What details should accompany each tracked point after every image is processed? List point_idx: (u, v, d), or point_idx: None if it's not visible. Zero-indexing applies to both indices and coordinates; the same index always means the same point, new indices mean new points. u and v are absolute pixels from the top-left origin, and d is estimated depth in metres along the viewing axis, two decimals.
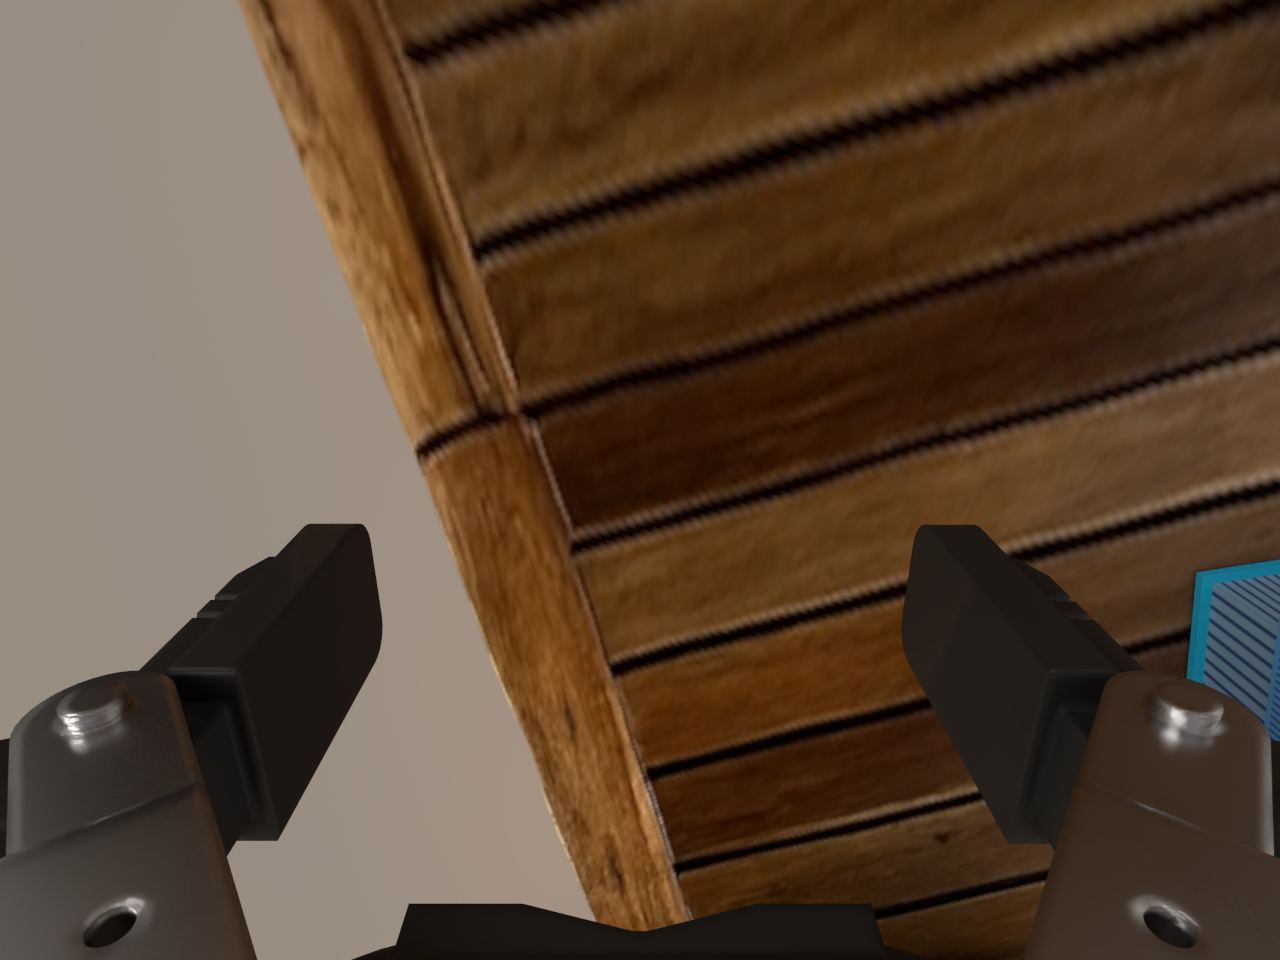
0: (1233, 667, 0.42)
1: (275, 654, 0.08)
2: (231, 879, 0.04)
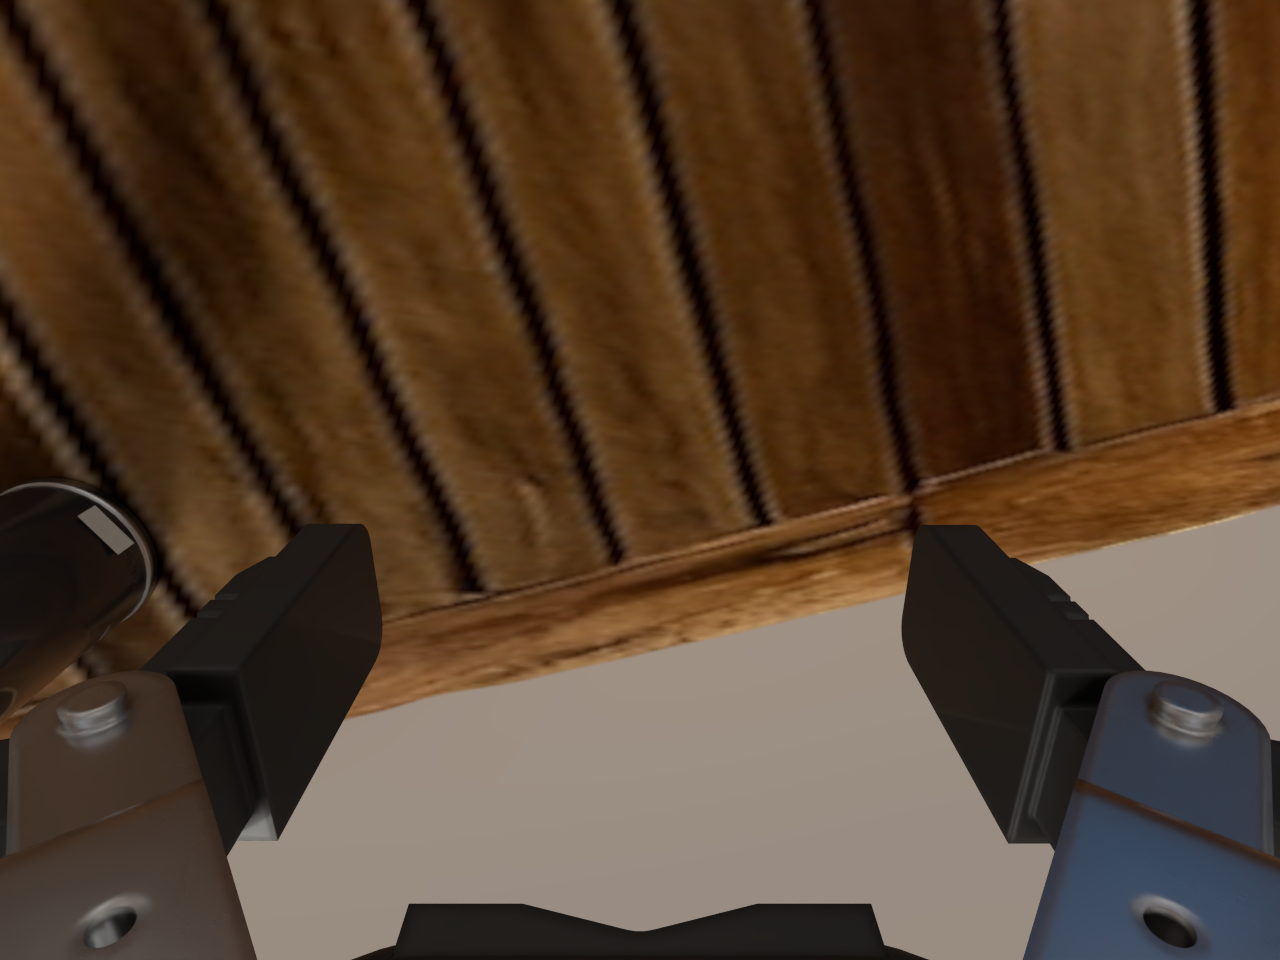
0: None
1: (275, 654, 0.08)
2: (232, 879, 0.04)
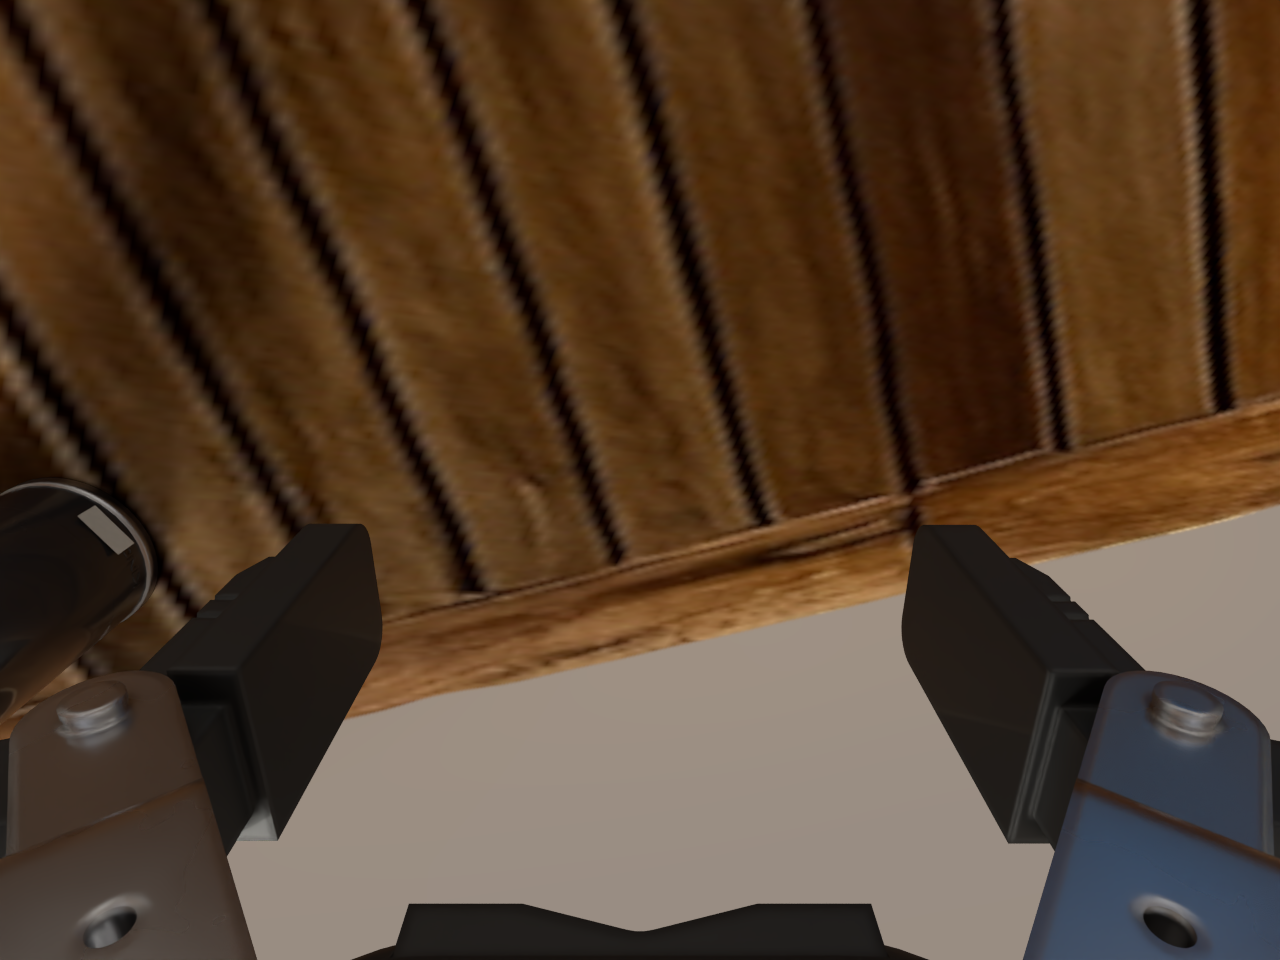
0: None
1: (275, 654, 0.08)
2: (232, 879, 0.04)
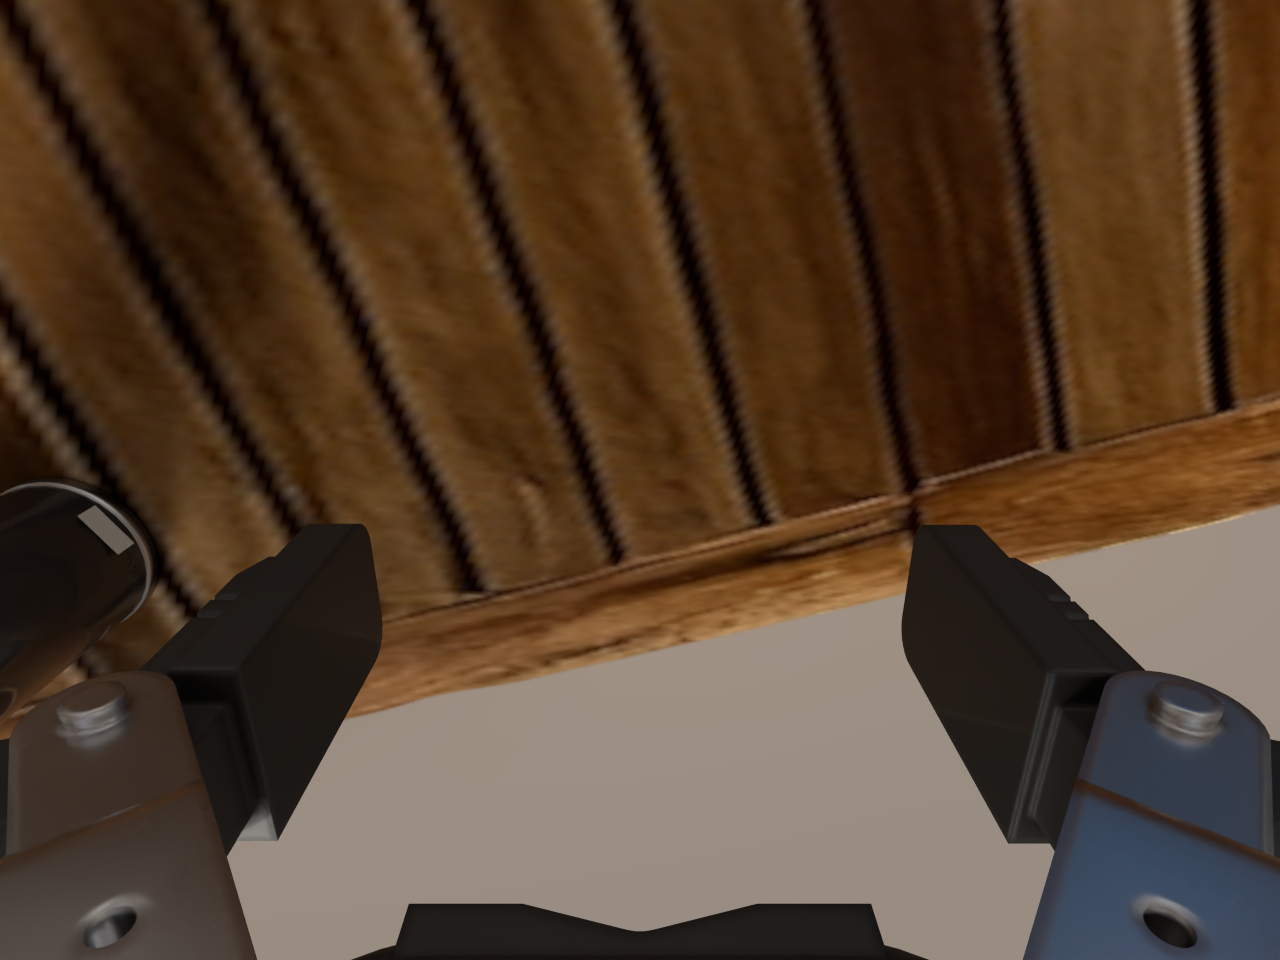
0: None
1: (275, 654, 0.08)
2: (232, 879, 0.04)
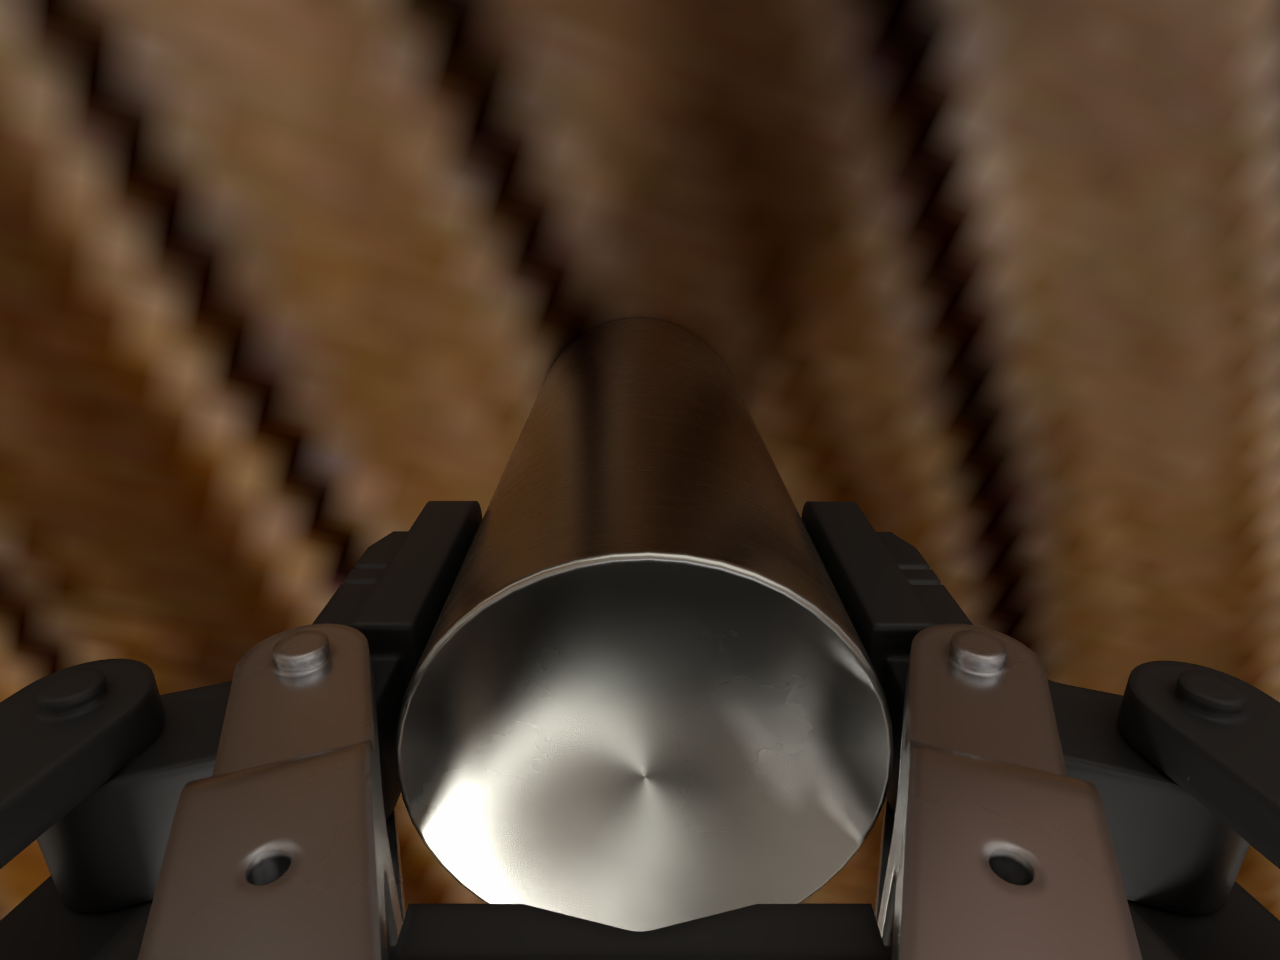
0: None
1: (431, 614, 0.09)
2: (373, 847, 0.05)
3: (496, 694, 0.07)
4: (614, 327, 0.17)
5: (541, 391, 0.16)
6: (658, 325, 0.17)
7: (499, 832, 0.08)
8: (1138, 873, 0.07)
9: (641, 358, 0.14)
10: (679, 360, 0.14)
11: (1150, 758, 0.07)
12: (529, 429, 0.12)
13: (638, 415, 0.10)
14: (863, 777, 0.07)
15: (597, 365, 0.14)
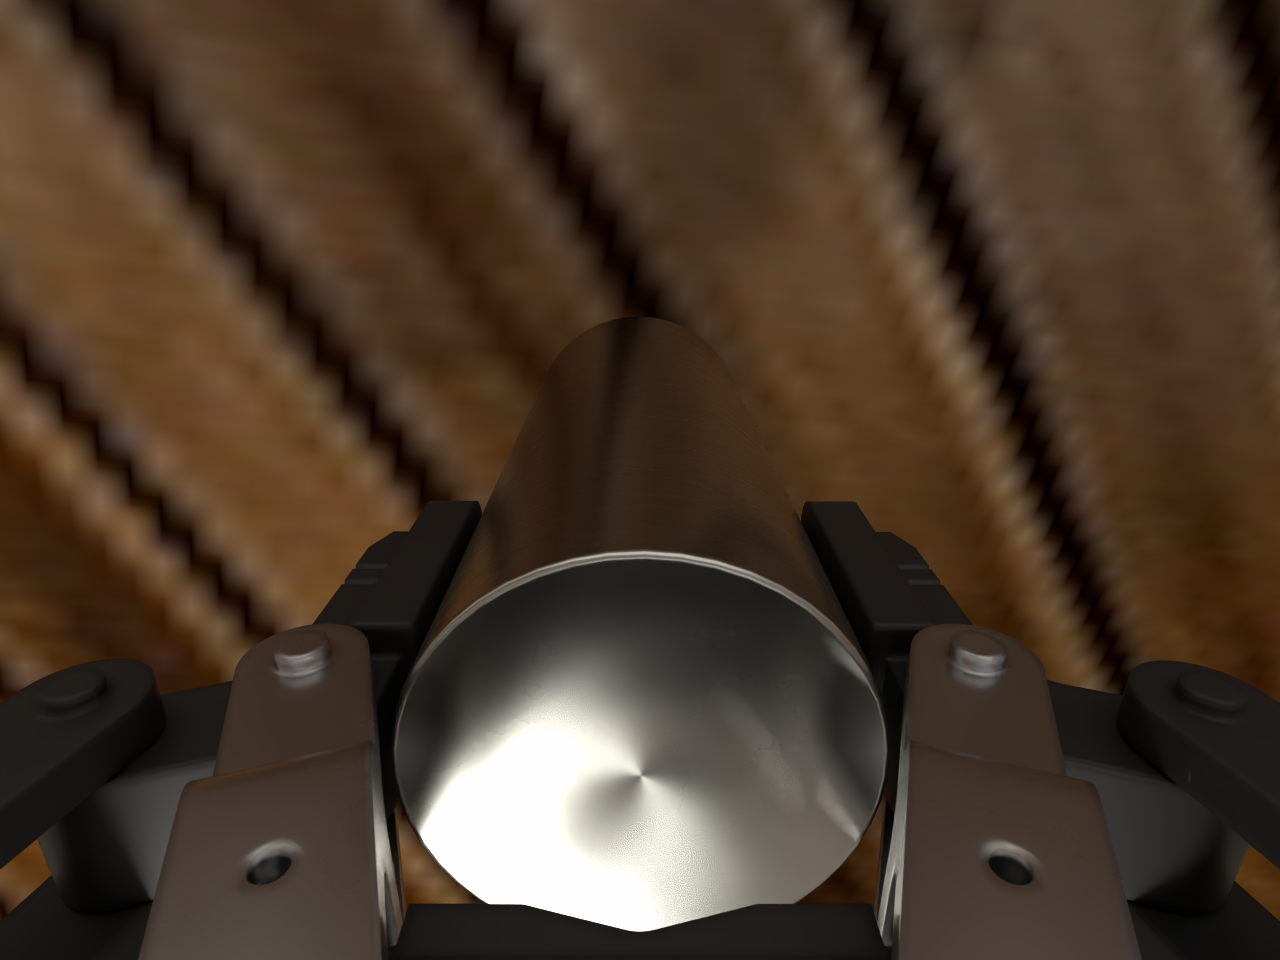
0: None
1: (432, 614, 0.09)
2: (374, 848, 0.05)
3: (490, 692, 0.07)
4: (613, 326, 0.17)
5: (540, 390, 0.16)
6: (657, 324, 0.17)
7: (495, 830, 0.08)
8: (1138, 873, 0.07)
9: (640, 357, 0.14)
10: (678, 359, 0.14)
11: (1149, 759, 0.07)
12: (527, 428, 0.12)
13: (635, 414, 0.10)
14: (859, 775, 0.07)
15: (596, 364, 0.14)
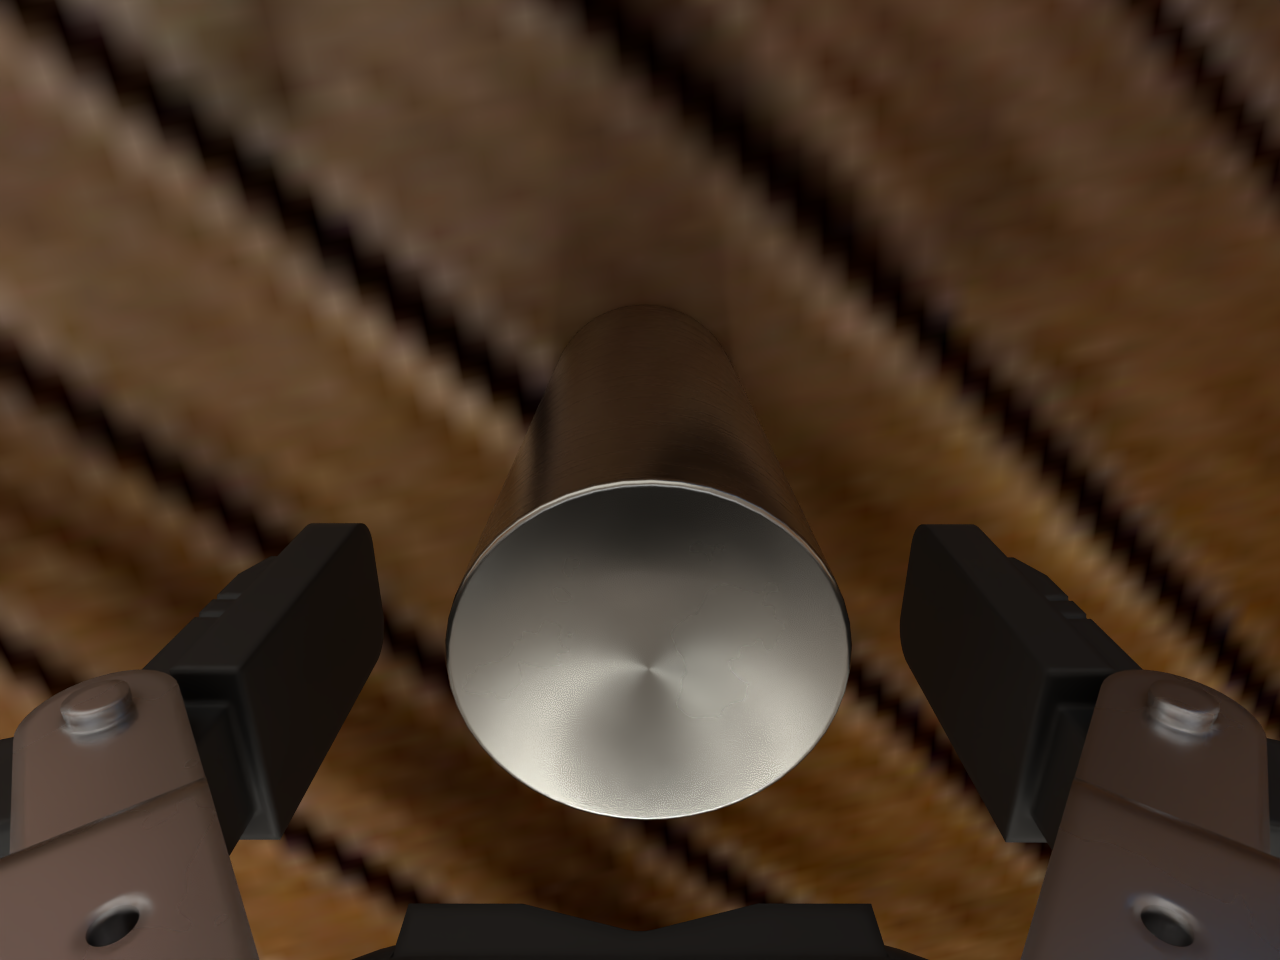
0: None
1: (278, 653, 0.08)
2: (234, 878, 0.04)
3: (528, 597, 0.09)
4: (621, 313, 0.19)
5: (555, 370, 0.17)
6: (661, 311, 0.19)
7: (528, 716, 0.09)
8: None
9: (646, 338, 0.15)
10: (680, 341, 0.16)
11: None
12: (547, 399, 0.14)
13: (643, 382, 0.12)
14: (826, 670, 0.09)
15: (607, 345, 0.15)
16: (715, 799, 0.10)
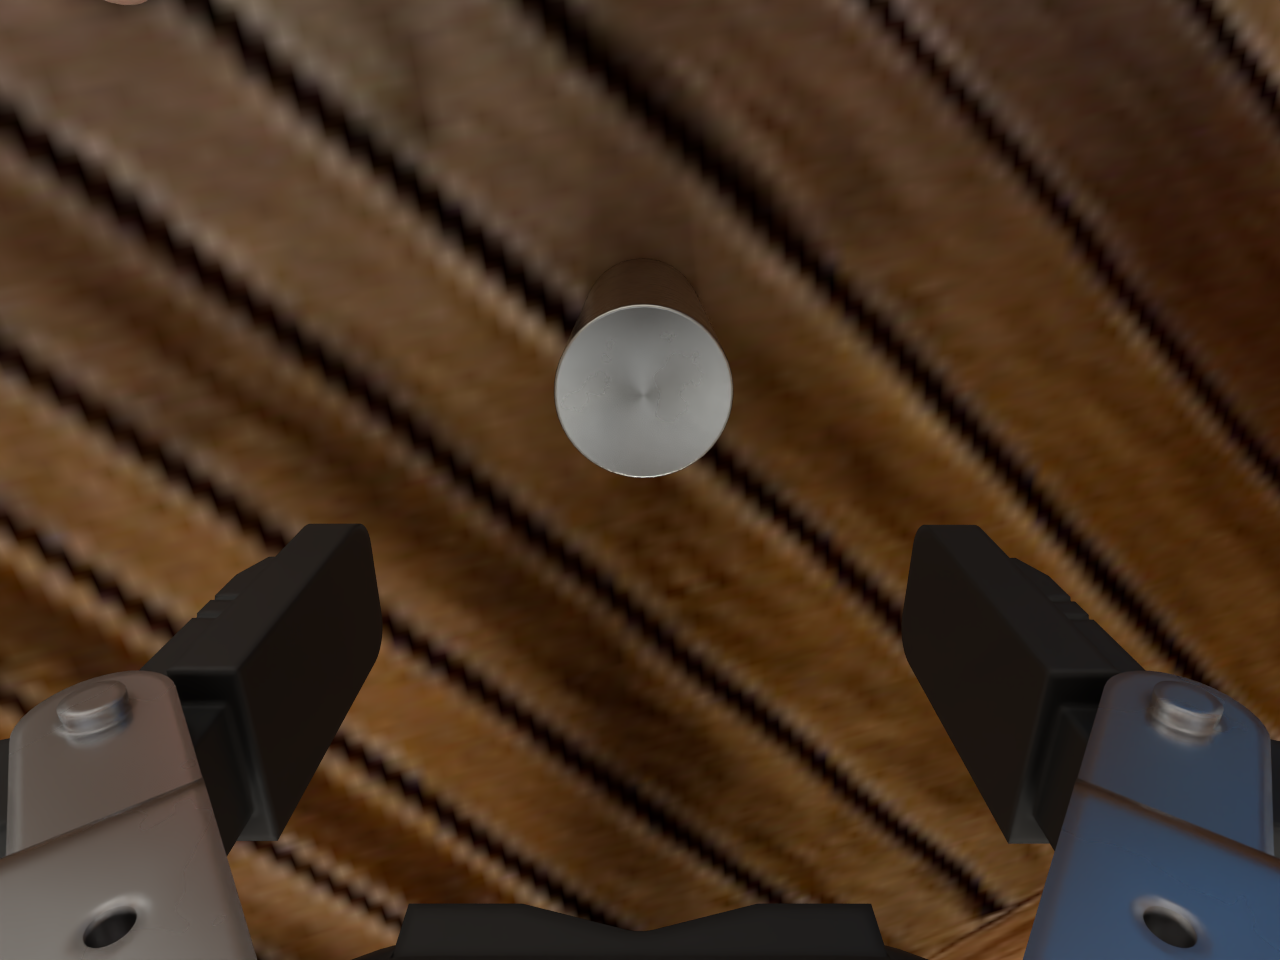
0: None
1: (275, 654, 0.08)
2: (232, 879, 0.04)
3: (591, 359, 0.20)
4: (628, 262, 0.30)
5: (589, 294, 0.29)
6: (653, 261, 0.30)
7: (590, 420, 0.21)
8: None
9: (643, 270, 0.27)
10: (663, 272, 0.27)
11: None
12: (588, 301, 0.26)
13: (641, 283, 0.24)
14: (722, 396, 0.21)
15: (621, 274, 0.27)
16: (674, 465, 0.21)
